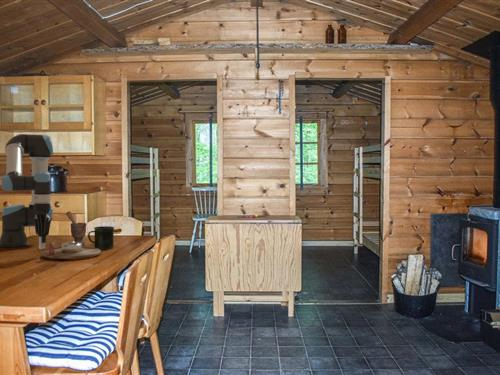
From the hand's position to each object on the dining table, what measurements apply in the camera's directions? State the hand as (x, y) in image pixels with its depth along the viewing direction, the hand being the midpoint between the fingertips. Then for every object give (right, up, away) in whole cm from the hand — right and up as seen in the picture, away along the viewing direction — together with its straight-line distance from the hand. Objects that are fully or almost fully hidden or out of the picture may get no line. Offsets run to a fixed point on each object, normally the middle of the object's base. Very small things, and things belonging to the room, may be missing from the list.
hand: (42, 248), depth 227 cm
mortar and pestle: (+3, -3, +36) cm, 37 cm away
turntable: (+13, -4, +6) cm, 15 cm away
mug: (+20, -4, +29) cm, 35 cm away
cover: (+12, -2, +7) cm, 14 cm away
